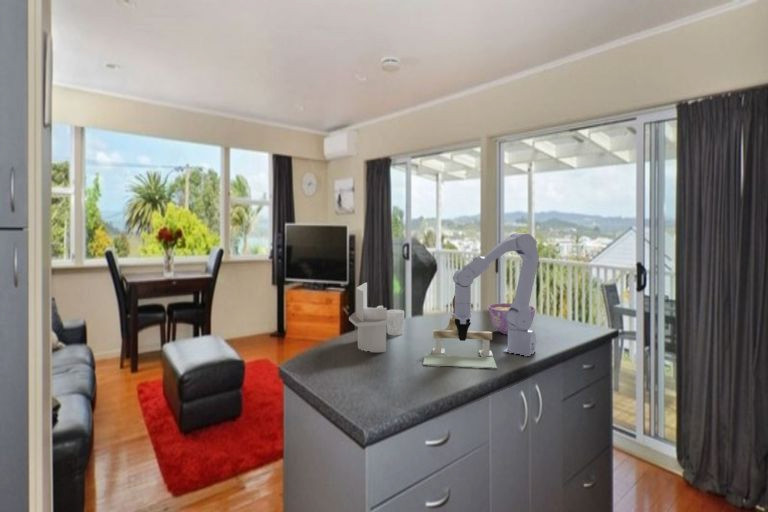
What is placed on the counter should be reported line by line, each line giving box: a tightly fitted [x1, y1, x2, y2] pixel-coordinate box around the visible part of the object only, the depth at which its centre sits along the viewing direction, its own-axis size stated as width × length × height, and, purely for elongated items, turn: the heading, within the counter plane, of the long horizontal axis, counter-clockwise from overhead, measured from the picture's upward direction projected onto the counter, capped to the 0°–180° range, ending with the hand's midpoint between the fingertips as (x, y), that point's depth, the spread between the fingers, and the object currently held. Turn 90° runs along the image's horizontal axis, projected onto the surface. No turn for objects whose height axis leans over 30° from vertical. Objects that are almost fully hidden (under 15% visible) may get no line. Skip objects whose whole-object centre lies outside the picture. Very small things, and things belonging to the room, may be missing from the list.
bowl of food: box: [487, 302, 537, 336], centre depth 183 cm, size 20×20×12 cm
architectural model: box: [348, 282, 394, 353], centre depth 163 cm, size 28×21×23 cm
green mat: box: [422, 353, 498, 369], centre depth 143 cm, size 24×11×1 cm, turn 81°
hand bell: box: [444, 294, 458, 330], centre depth 188 cm, size 8×8×16 cm
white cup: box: [386, 309, 405, 337], centre depth 182 cm, size 8×8×10 cm
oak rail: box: [432, 329, 493, 341], centre depth 152 cm, size 21×2×2 cm, turn 81°
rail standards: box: [431, 338, 494, 358], centre depth 153 cm, size 21×6×6 cm, turn 81°
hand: (462, 339), depth 152 cm, fingers closed on oak rail, 2 cm apart
